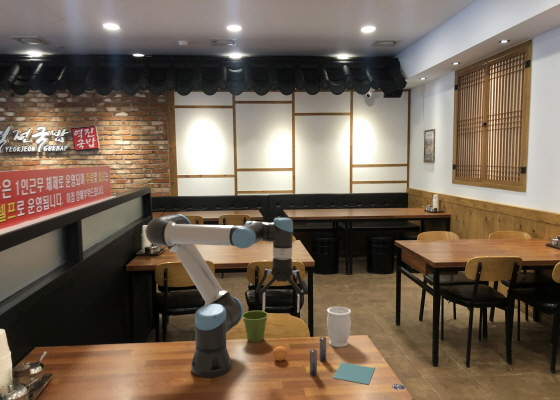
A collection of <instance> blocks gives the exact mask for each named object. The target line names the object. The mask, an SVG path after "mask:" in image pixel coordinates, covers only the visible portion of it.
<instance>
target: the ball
mask: <svg viewBox="0 0 560 400" xmlns="http://www.w3.org/2000/svg"><path fill="white" fill-rule="evenodd" d="M272 352H273V353H272V355H273V358H274V359H275V360H276V361H279V362H280V361H284V360H285V359H286V357H287V355H288V351H287V349H286V348H285V347H284V346H282V345H278V346H276V347H275V348H274V349H273V351H272Z"/></svg>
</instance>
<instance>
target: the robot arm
mask: <svg viewBox="0 0 560 400" xmlns="http://www.w3.org/2000/svg"><path fill="white" fill-rule="evenodd" d="M293 235H294V222H293V219H292V218H289V217H275V218H274V219H273V222H266V221H256V220H247V221H245V223H244V224H243V225H227V224H226V225H222V224H221V225H220V224H192V222H191V220H190V219H189V218H188V217H187V216H185V215H184V214H179V213H171V214H168V215H164V216H160V217H159V216H158V217H155V218H152V220H150V221H148V224H147V225H146V228H145V236H146V240H148V242H149V243H150V244H152V245H154V246H156V247H157V246H158V247H166V248H167V249H168V251H169V252H173V253H175V255H176V256H177V258H178V260H179V261H180V263H181V264H182V266H183V268H184V270H185V271H186V273H187V275H189V276H188V277H190V279H191V281H192V282H193V284H194V285H195V287H196V289H197V290H198V292H199V294H200V295H201V297H202V299H203V300H204V305H203V306H201V307H199V308H197V310H196V311H195V315H194V316H195V318H194V330H195V331H194V336H195V341H194V342H195V350H194V355H193V356H192V357H193V358H192V360H191V363H190V364H191V366H190V368H191V372H192V374H194V375H195V376H197V377H201V378H215V377H220V376H223V375H225V374H227V373H228V372H230V370H232V360H231V357H230V354H229V351H228V348H227V334H228V332H230V331H231V330H232V329H233V328H234V327H236V326H237V325H238V324H239V323H240V321H241V320H242V319H243V317H242V316H243V313H244V307H243V304H242V302H241V300H239V298H237V297H235V296H233V295H231V293H230V292H229V290H225V289H224V288H222V286H221V284H220V283H219V281H218V279H217V278H216V276H215V274H214V273H213V272H212V270H211V268H210V267H209V265H208V264H207V261H206V260H205V258H204V257H203V255H202V254H201V252H200V251H199V249H198V248H197V245H201V246H203V245H205V246H228V247H229V246H231V247H237V248H238V249H249V248H250V247H252V246H253V245H255V244H257V243H259V242H269V243H271V242H272V267H271V268H272V269H268V268H265V269H264V271H263V275H262V277H261V279H260V281H259V283H258V284H257V286H256V289H255V293H258V294H259V302H260V303H262V310H261V311H264V312H266V311H265V310H266V291H267V290H268V289H269V288H270V286H272V284H274V282H276V281H277V283H278V282H284V283H286V282H288V283H289V284H290V285H291V287H292V288H293V289H294V290H295V292H296V293H297V307H296V308H297V311H296V313H299V312H300V305H301V304H302V305H303V299H304V298H303V297H304V295H307V294H308V290H307V287H306V285H305V283H304V280H303V278H302V277H301V275H300V273H301V272H300V269H296V270H293V268H292V267H293V259H292V257H293ZM270 274H271V276H272V277H271V278H270V280H269V281H268V282H267V283H266V284H265V285H264V286H263V284H264V283H265V280H266V278H267V277H268V276H269V275H270ZM292 275H294V276H295V277H296V278H297V281H298V283H299V285H300V286H299V285H297V283H296V281H294V280H293V278H292ZM262 286H263V287H262ZM261 287H262V288H261Z"/></svg>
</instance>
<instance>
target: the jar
mask: <svg viewBox="0 0 560 400" xmlns="http://www.w3.org/2000/svg"><path fill="white" fill-rule="evenodd" d="M326 313H327V317H326V329H327V335H328V337H329V341H328V343H329V344H328V345H331V346H332V347H334V348H345V347H347V346H348V345H349V341H348V339H349V338H350V334H351V327H352V321H351V319H352V318H351V313H352V310H351V309H350V308H348V307H345V306H331V307H328V308H327V309H326Z"/></svg>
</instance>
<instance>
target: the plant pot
mask: <svg viewBox="0 0 560 400" xmlns="http://www.w3.org/2000/svg"><path fill="white" fill-rule="evenodd" d="M268 316H269V313H268V312H266V311H262V310H250V311H246V312H243V316H242V319H243V323H244V327H245V331H246V338H247V340H248V342H251V343H259V342H261V341H263V340H264V338H265V332H266V324H267V320H268Z"/></svg>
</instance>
